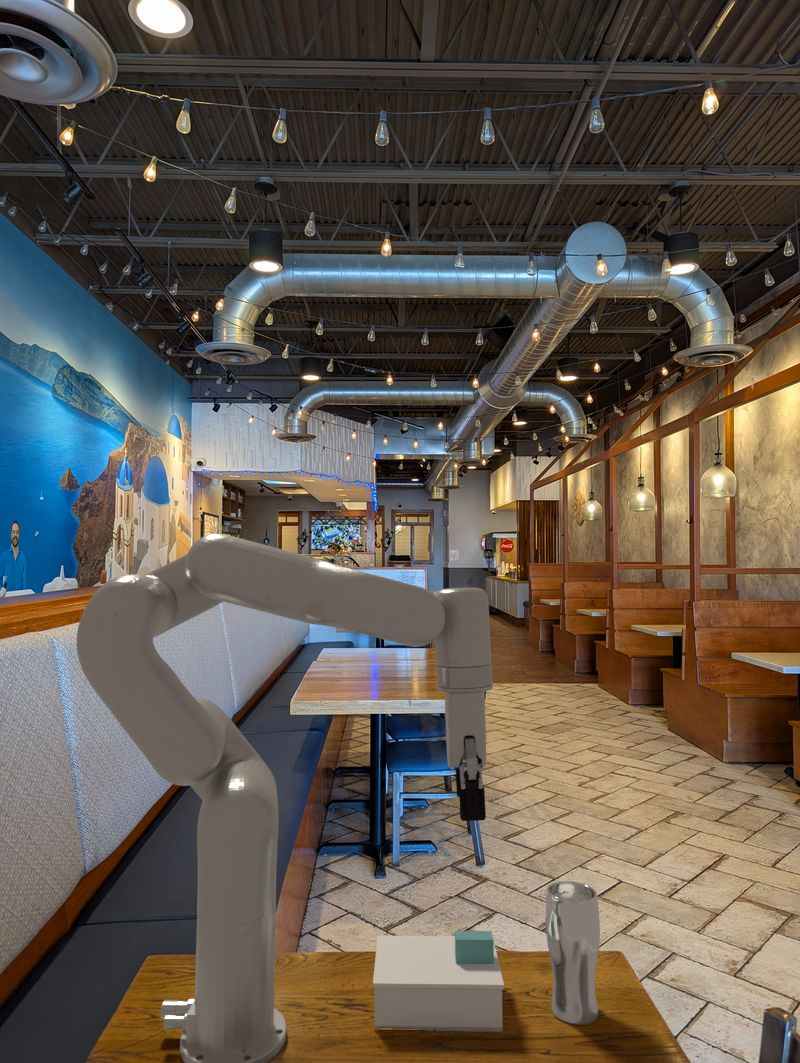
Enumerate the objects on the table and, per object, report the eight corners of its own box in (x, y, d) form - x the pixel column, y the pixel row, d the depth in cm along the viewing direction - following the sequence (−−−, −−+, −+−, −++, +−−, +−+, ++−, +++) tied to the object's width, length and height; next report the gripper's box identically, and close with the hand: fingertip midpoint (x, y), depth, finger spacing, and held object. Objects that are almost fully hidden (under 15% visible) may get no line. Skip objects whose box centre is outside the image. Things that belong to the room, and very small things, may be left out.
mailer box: (374, 1030, 84) (374, 987, 85) (378, 980, 95) (378, 943, 96) (502, 1031, 84) (502, 989, 84) (492, 981, 95) (491, 944, 95)
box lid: (372, 987, 84) (372, 958, 85) (377, 939, 96) (377, 913, 97) (504, 989, 84) (503, 959, 84) (492, 940, 96) (492, 914, 96)
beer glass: (610, 1026, 85) (606, 902, 86) (555, 1028, 85) (553, 903, 86) (591, 994, 92) (588, 879, 93) (541, 996, 92) (539, 880, 93)
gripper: (436, 671, 101) (441, 789, 99) (438, 688, 83) (444, 831, 82) (486, 670, 100) (492, 788, 99) (498, 686, 83) (506, 829, 82)
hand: (470, 807), depth 90 cm, fingers open, 9 cm apart
